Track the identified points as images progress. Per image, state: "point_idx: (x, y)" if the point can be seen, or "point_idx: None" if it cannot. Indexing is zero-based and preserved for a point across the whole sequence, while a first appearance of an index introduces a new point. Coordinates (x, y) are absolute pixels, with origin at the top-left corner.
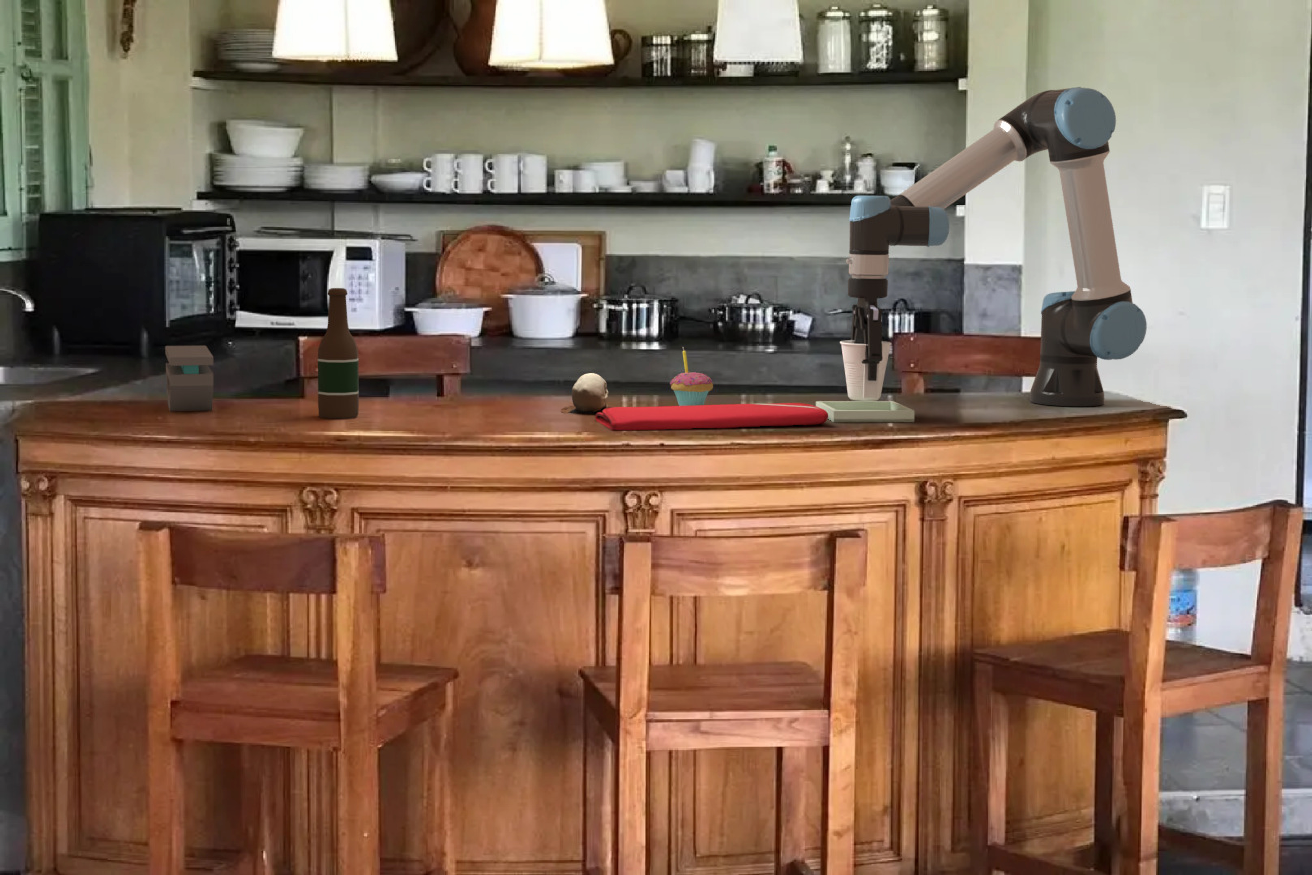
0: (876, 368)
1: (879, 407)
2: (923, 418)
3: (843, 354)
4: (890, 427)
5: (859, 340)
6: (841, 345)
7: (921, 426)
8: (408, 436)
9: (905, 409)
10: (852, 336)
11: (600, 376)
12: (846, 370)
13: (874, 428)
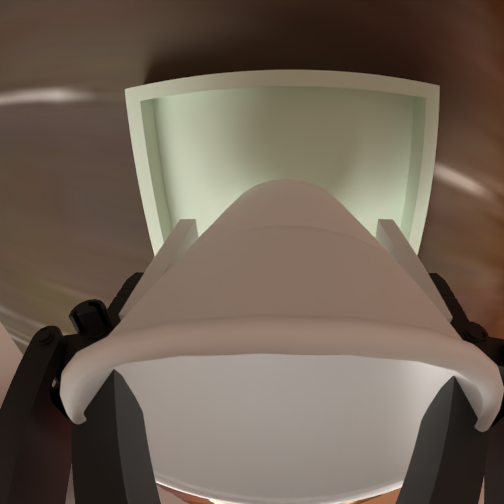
0: (463, 314)
1: (154, 137)
2: (315, 13)
3: (288, 451)
4: (497, 199)
5: (143, 464)
6: (264, 490)
7: (497, 108)
8: (360, 499)
9: (374, 90)
10: (69, 461)
11: (219, 501)
12: (297, 381)
13: (498, 241)
